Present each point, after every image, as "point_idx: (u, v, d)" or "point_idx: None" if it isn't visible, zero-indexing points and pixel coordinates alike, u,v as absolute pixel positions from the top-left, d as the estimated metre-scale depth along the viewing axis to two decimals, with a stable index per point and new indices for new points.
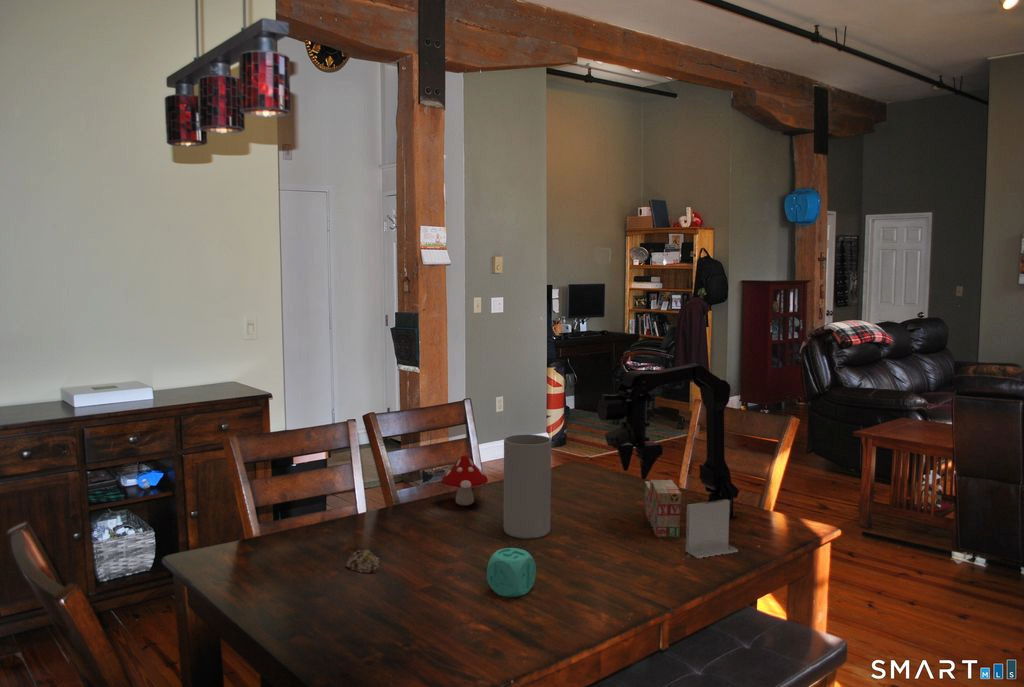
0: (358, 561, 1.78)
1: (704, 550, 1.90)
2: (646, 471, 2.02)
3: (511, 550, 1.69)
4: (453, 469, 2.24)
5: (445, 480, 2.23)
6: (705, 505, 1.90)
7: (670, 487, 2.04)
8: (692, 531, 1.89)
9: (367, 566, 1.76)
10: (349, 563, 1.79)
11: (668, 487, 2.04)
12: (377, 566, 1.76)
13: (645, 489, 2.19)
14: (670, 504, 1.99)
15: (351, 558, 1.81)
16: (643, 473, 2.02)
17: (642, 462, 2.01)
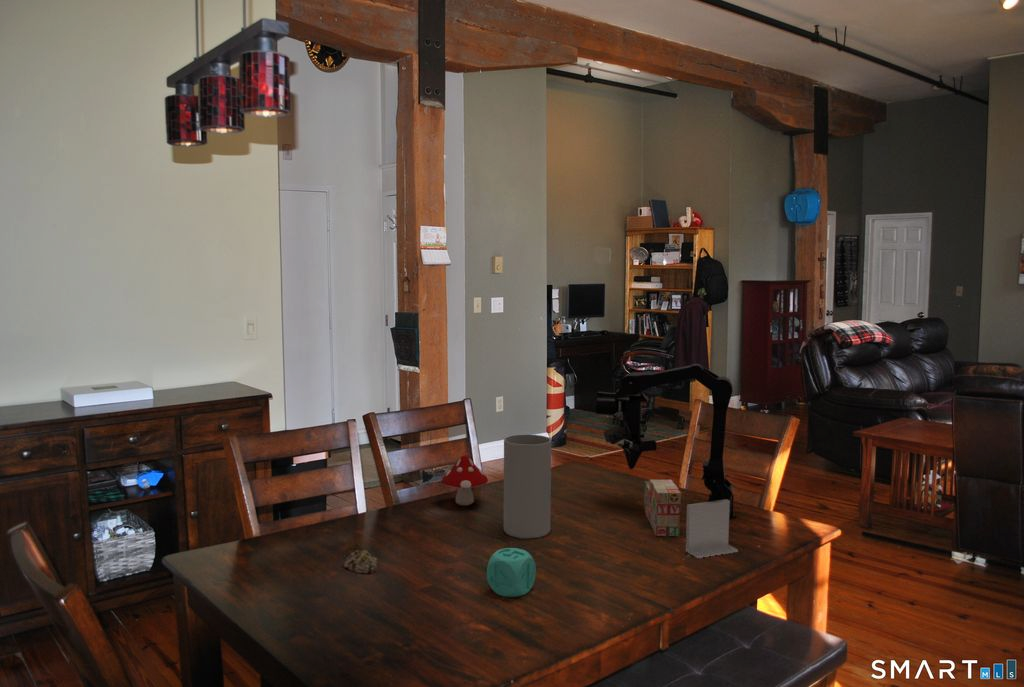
0: (356, 561, 1.78)
1: (704, 550, 1.90)
2: (634, 462, 2.23)
3: (511, 550, 1.69)
4: (453, 469, 2.24)
5: (445, 480, 2.23)
6: (705, 505, 1.90)
7: (670, 487, 2.04)
8: (692, 531, 1.89)
9: (365, 566, 1.75)
10: (347, 563, 1.79)
11: (668, 487, 2.04)
12: (375, 566, 1.76)
13: (644, 489, 2.19)
14: (669, 504, 2.00)
15: (349, 558, 1.81)
16: (631, 463, 2.23)
17: (630, 453, 2.22)
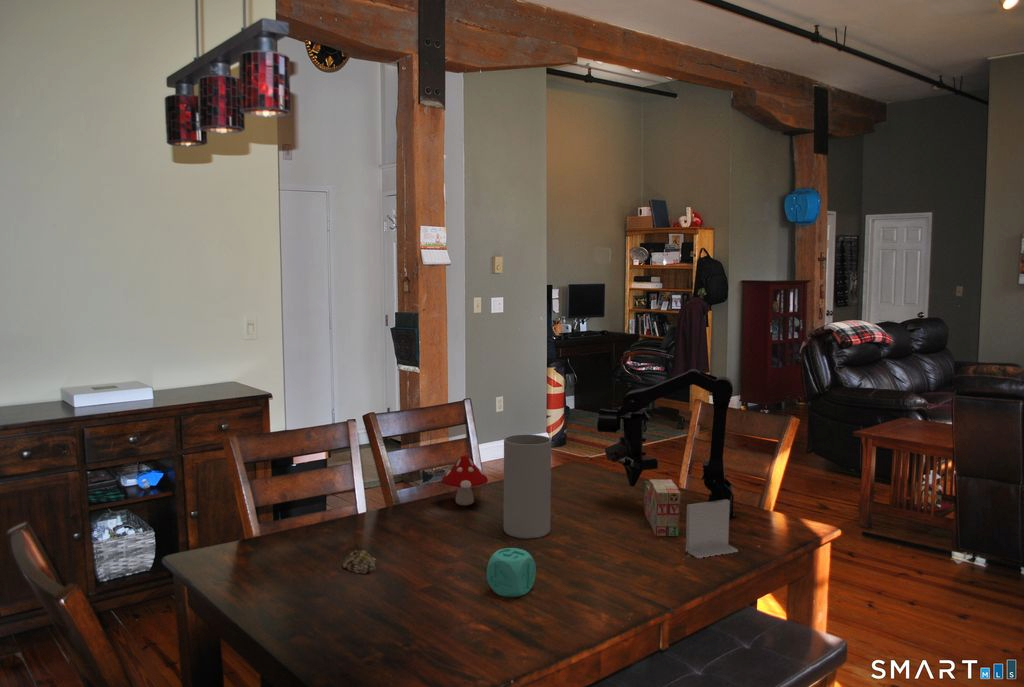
0: (355, 562, 1.78)
1: (704, 550, 1.90)
2: (635, 480, 2.24)
3: (511, 550, 1.69)
4: (453, 469, 2.24)
5: (445, 480, 2.23)
6: (705, 505, 1.90)
7: (669, 487, 2.04)
8: (692, 531, 1.89)
9: (363, 567, 1.75)
10: (346, 563, 1.78)
11: (667, 487, 2.04)
12: (373, 567, 1.76)
13: (644, 489, 2.20)
14: (669, 504, 2.00)
15: (348, 558, 1.80)
16: (632, 481, 2.23)
17: (631, 471, 2.22)
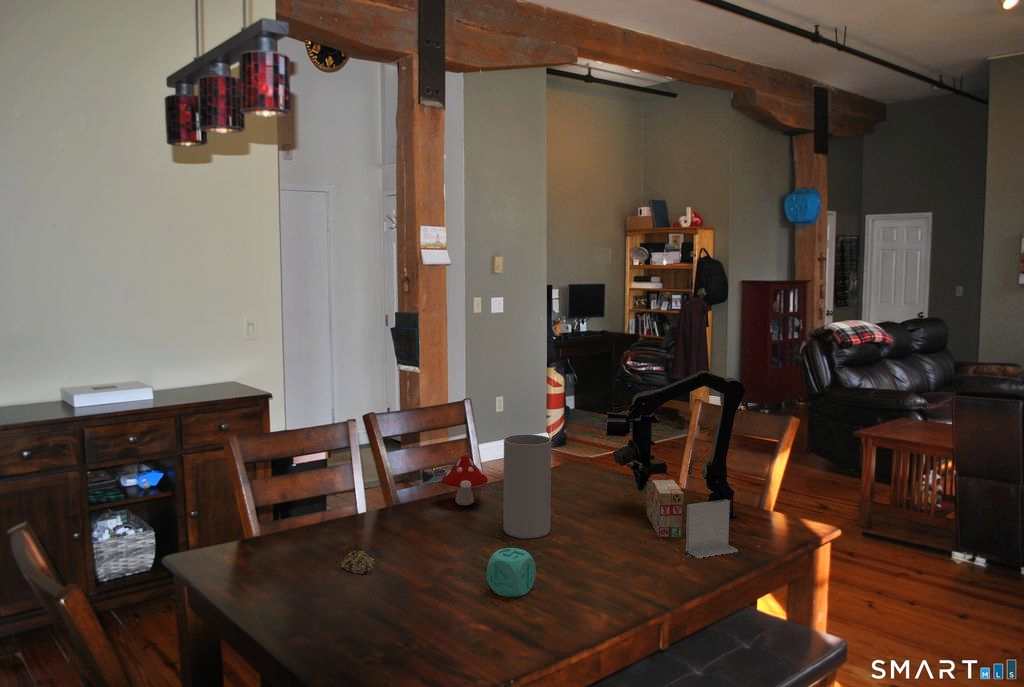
0: (353, 562, 1.78)
1: (704, 550, 1.90)
2: (643, 484, 2.19)
3: (511, 550, 1.69)
4: (453, 469, 2.24)
5: (445, 480, 2.23)
6: (705, 505, 1.90)
7: (672, 487, 2.03)
8: (692, 531, 1.89)
9: (361, 567, 1.75)
10: (344, 564, 1.78)
11: (670, 487, 2.03)
12: (371, 567, 1.76)
13: (646, 489, 2.18)
14: (672, 504, 1.99)
15: (346, 559, 1.80)
16: (640, 485, 2.19)
17: (639, 475, 2.18)
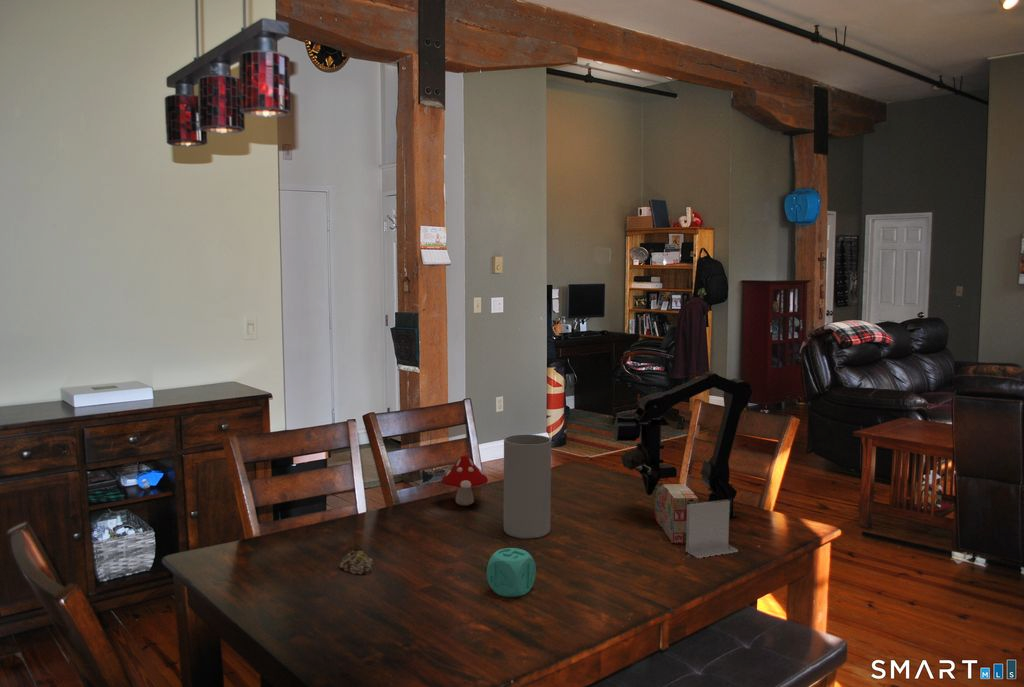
0: (351, 562, 1.78)
1: (704, 550, 1.90)
2: (652, 488, 2.15)
3: (511, 550, 1.69)
4: (453, 469, 2.24)
5: (445, 480, 2.23)
6: (705, 505, 1.90)
7: (685, 492, 1.99)
8: (692, 531, 1.89)
9: (359, 567, 1.75)
10: (342, 564, 1.78)
11: (683, 492, 1.99)
12: (370, 567, 1.76)
13: (655, 494, 2.14)
14: (686, 509, 1.95)
15: (345, 559, 1.80)
16: (649, 489, 2.15)
17: (648, 479, 2.14)
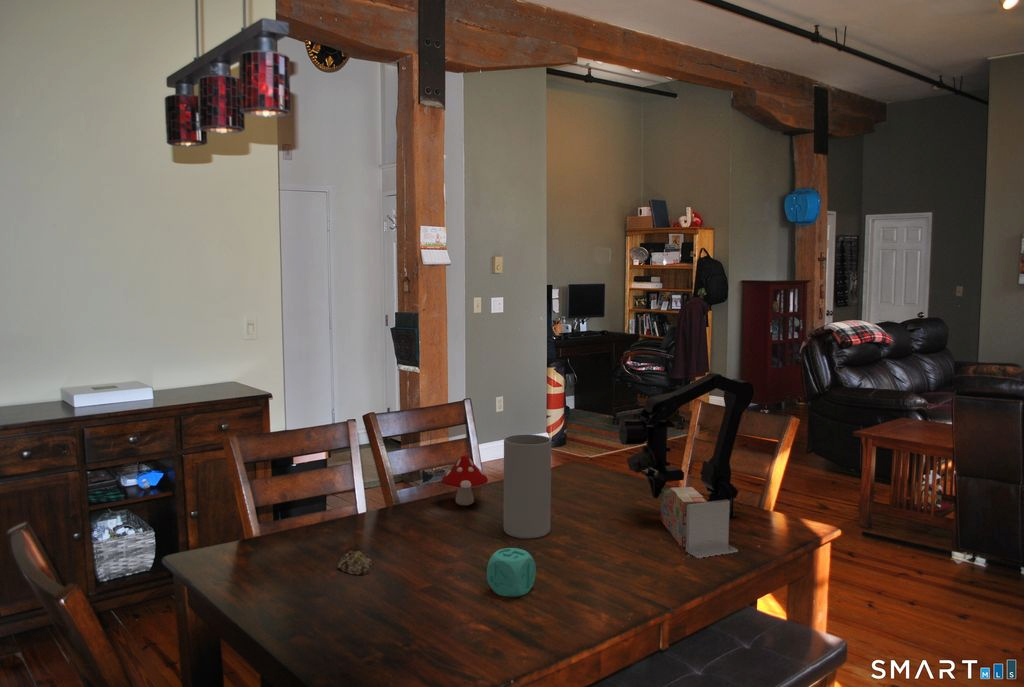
0: (349, 562, 1.78)
1: (704, 550, 1.90)
2: (658, 491, 2.12)
3: (511, 550, 1.69)
4: (453, 469, 2.24)
5: (445, 480, 2.23)
6: (705, 505, 1.90)
7: (694, 495, 1.96)
8: (692, 531, 1.89)
9: (357, 568, 1.75)
10: (340, 564, 1.78)
11: (692, 495, 1.96)
12: (367, 568, 1.75)
13: (662, 497, 2.11)
14: None
15: (343, 559, 1.80)
16: (655, 492, 2.12)
17: (654, 482, 2.11)
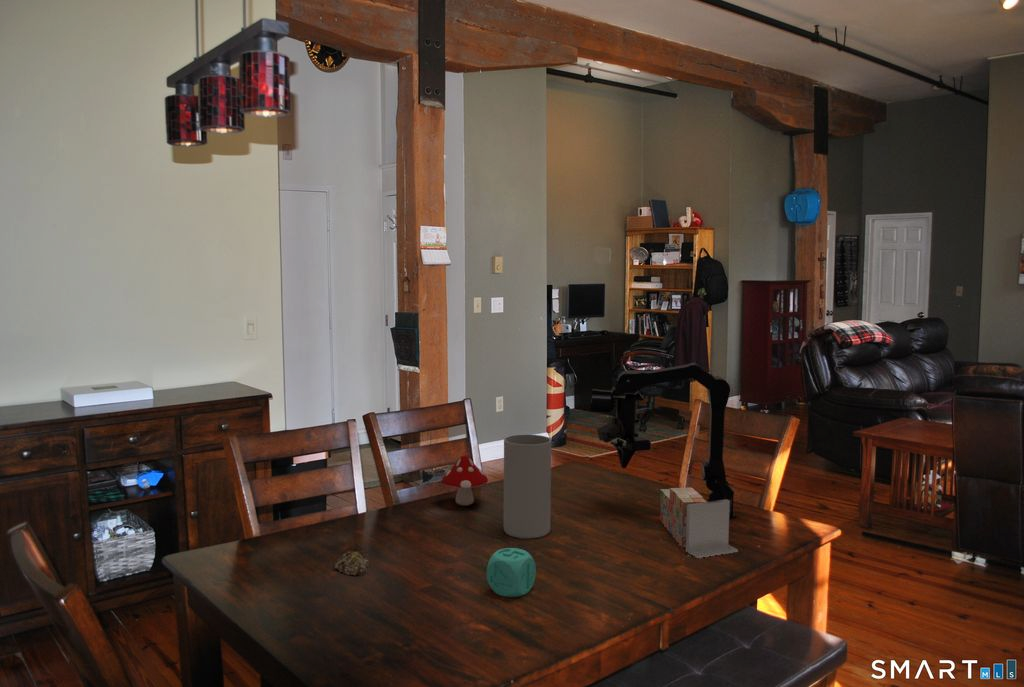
0: (346, 563, 1.77)
1: (704, 550, 1.90)
2: (627, 461, 2.20)
3: (511, 550, 1.69)
4: (453, 469, 2.24)
5: (445, 480, 2.23)
6: (705, 505, 1.90)
7: (694, 495, 1.96)
8: (692, 531, 1.89)
9: (354, 568, 1.74)
10: (337, 564, 1.78)
11: (692, 495, 1.96)
12: (364, 569, 1.75)
13: (661, 497, 2.11)
14: None
15: (340, 559, 1.80)
16: (623, 462, 2.20)
17: (623, 452, 2.18)
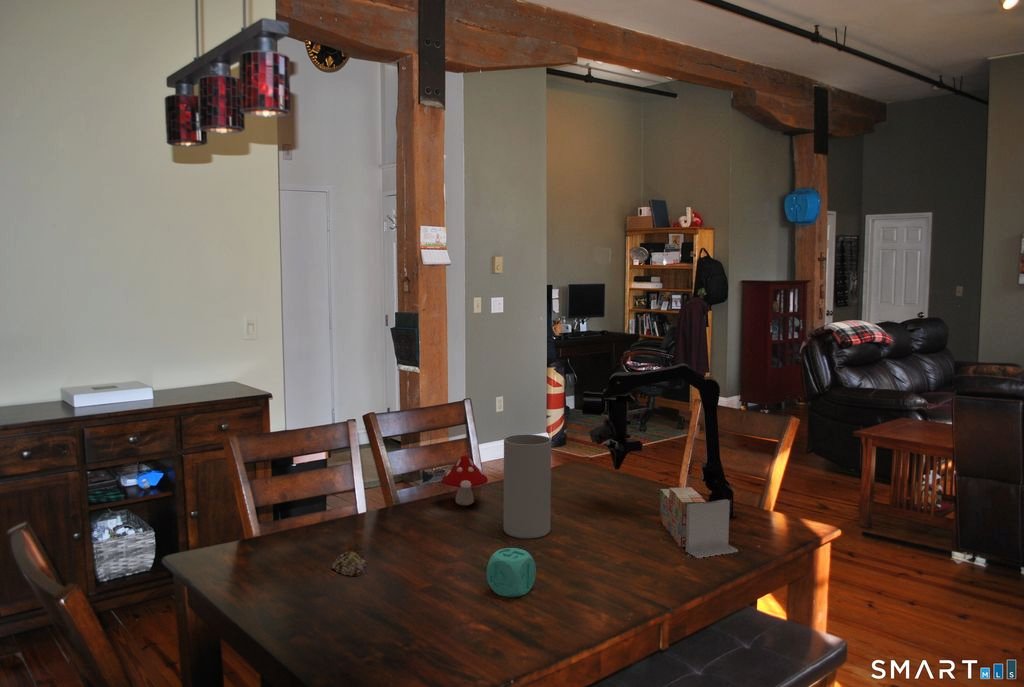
0: (343, 563, 1.77)
1: (704, 550, 1.90)
2: (620, 462, 2.22)
3: (511, 550, 1.69)
4: (453, 469, 2.24)
5: (445, 480, 2.23)
6: (705, 505, 1.90)
7: (693, 495, 1.96)
8: (692, 531, 1.89)
9: (350, 569, 1.74)
10: (335, 565, 1.78)
11: (691, 495, 1.96)
12: (361, 569, 1.75)
13: (661, 497, 2.11)
14: None
15: (338, 560, 1.80)
16: (616, 464, 2.21)
17: (615, 454, 2.20)
